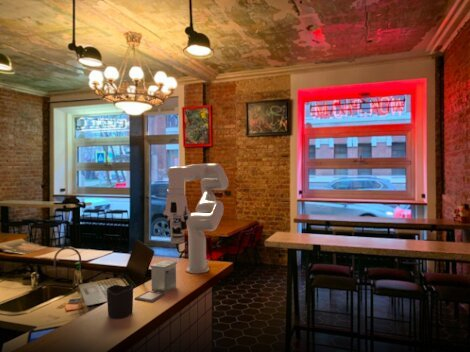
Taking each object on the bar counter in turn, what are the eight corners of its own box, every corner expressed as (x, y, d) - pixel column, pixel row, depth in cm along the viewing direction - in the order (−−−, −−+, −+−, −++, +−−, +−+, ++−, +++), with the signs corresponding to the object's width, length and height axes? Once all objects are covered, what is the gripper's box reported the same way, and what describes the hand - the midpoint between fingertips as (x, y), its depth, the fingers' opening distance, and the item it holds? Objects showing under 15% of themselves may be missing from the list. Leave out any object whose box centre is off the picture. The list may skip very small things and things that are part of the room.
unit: (163, 285, 158) (163, 260, 158) (177, 287, 154) (177, 261, 154) (150, 291, 149) (150, 265, 149) (165, 294, 146) (164, 267, 146)
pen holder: (124, 307, 131) (124, 282, 131) (138, 313, 125) (138, 287, 125) (102, 315, 124) (101, 288, 124) (115, 322, 118) (115, 294, 118)
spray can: (171, 244, 157) (170, 202, 157) (170, 241, 163) (169, 201, 163) (185, 243, 159) (184, 201, 158) (183, 240, 165) (182, 200, 165)
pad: (148, 292, 148) (148, 290, 148) (165, 295, 144) (165, 293, 144) (134, 299, 140) (134, 297, 140) (151, 302, 136) (151, 300, 136)
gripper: (157, 192, 161) (157, 229, 161) (187, 193, 154) (188, 231, 154) (166, 191, 168) (167, 226, 168) (196, 192, 161) (196, 228, 161)
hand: (177, 228), depth 161 cm, fingers closed on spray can, 6 cm apart
